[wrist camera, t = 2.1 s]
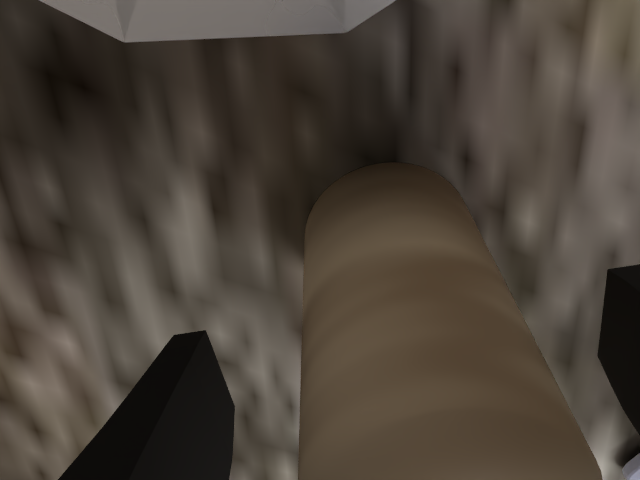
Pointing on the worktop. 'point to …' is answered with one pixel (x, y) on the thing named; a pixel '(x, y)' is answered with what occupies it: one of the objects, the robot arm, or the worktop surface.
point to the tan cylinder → (420, 345)
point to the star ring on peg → (218, 17)
